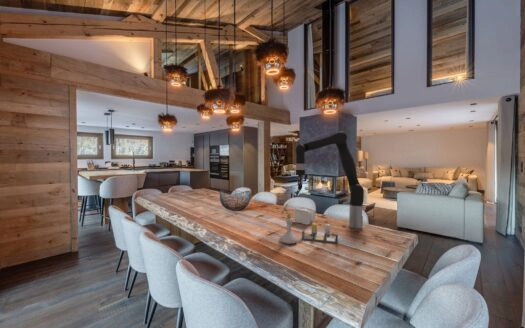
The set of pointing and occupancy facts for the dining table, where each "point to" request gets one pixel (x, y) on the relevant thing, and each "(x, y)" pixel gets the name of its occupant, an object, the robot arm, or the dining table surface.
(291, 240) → the white tapered rounded piece
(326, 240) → the grey compartment rack
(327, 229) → the plug white
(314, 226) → the plug mustard
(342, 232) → the dining table surface
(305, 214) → the cable organizer
